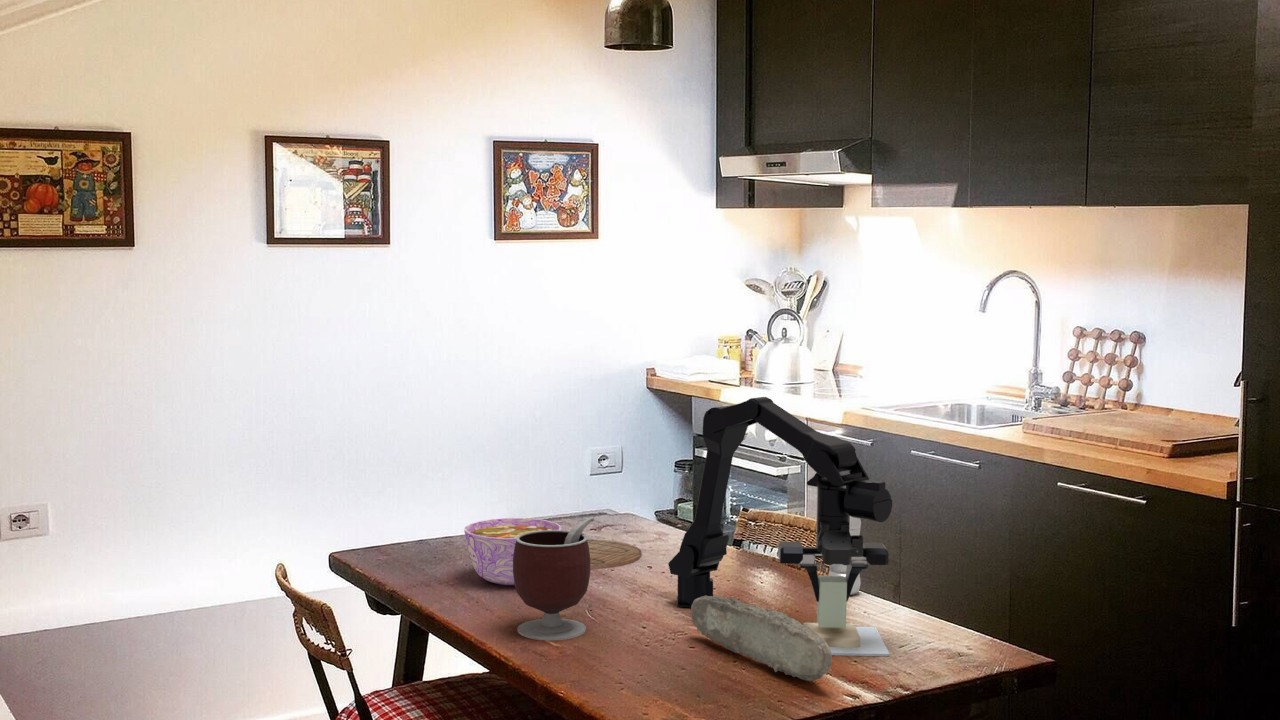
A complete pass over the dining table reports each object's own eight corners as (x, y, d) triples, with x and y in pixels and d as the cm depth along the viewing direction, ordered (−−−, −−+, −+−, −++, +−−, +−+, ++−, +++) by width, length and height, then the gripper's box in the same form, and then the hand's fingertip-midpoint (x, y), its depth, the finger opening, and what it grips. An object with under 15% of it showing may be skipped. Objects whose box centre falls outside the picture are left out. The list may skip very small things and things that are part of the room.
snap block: (819, 627, 226) (820, 582, 225) (816, 619, 230) (817, 575, 230) (846, 627, 226) (846, 582, 225) (842, 620, 230) (843, 575, 230)
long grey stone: (681, 641, 228) (681, 585, 227) (704, 636, 231) (705, 581, 231) (820, 697, 200) (821, 633, 199) (844, 690, 203) (846, 628, 202)
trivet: (599, 579, 272) (599, 570, 271) (506, 563, 285) (506, 555, 285) (663, 556, 292) (663, 548, 292) (573, 542, 306) (573, 534, 306)
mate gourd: (535, 647, 224) (535, 533, 222) (499, 627, 236) (499, 518, 234) (612, 633, 232) (612, 523, 230) (574, 615, 244) (574, 510, 242)
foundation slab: (807, 646, 224) (808, 637, 224) (803, 631, 233) (803, 622, 233) (860, 647, 224) (860, 638, 223) (853, 632, 233) (853, 623, 232)
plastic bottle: (840, 600, 255) (842, 500, 254) (820, 592, 261) (822, 494, 260) (867, 596, 258) (869, 497, 257) (846, 588, 264) (848, 491, 263)
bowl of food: (446, 589, 262) (445, 533, 261) (493, 567, 280) (493, 514, 279) (534, 600, 254) (534, 542, 253) (577, 576, 273) (577, 522, 272)
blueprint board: (783, 654, 221) (783, 652, 221) (776, 627, 236) (776, 625, 236) (889, 656, 220) (889, 653, 220) (875, 628, 236) (875, 626, 236)
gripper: (783, 522, 219) (781, 613, 220) (894, 524, 218) (892, 615, 219) (778, 509, 230) (777, 595, 231) (884, 510, 229) (882, 597, 230)
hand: (831, 601), depth 228 cm, fingers closed on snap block, 5 cm apart
